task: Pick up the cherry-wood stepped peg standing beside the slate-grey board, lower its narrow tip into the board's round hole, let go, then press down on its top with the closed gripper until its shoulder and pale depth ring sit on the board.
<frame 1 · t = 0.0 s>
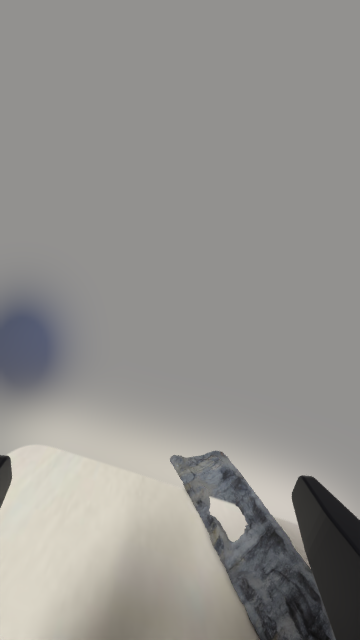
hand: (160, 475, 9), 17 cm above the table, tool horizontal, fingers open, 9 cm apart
driftwood: (258, 559, 23), on the table
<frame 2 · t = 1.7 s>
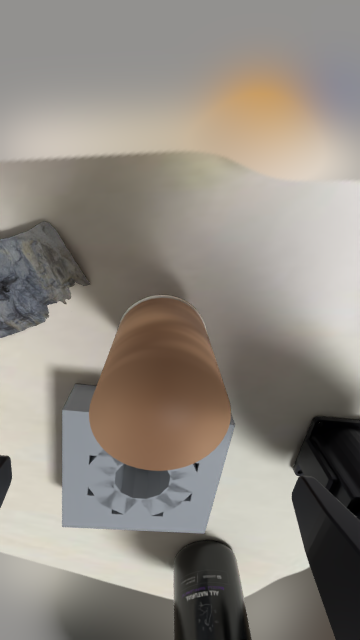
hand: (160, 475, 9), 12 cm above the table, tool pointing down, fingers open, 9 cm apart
peg: (162, 321, 20), on the table
supplement bottle: (203, 555, 31), on the table
board: (145, 448, 25), on the table
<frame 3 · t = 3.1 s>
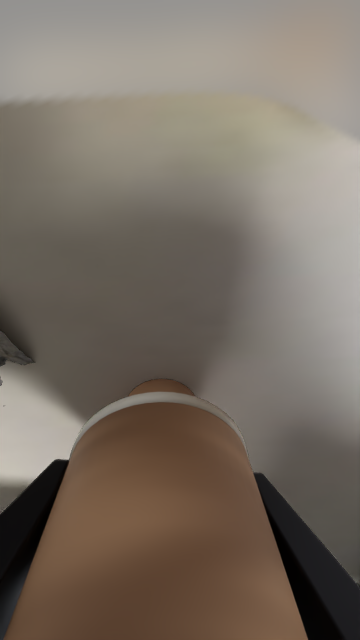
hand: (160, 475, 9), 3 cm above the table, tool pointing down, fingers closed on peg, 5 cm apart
peg: (161, 409, 12), on the table, touching gripper
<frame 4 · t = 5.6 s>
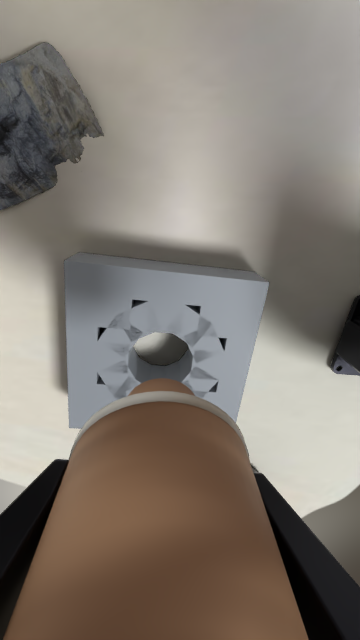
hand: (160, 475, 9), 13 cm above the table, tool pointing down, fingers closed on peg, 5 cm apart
peg: (161, 409, 12), point 10 cm above the table, touching gripper
board: (161, 341, 21), on the table
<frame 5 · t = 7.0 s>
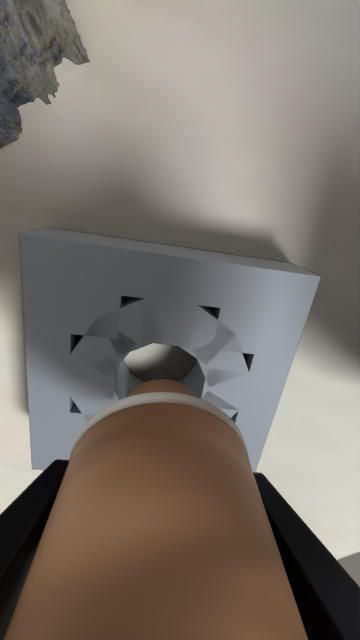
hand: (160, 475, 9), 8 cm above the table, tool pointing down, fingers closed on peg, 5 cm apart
peg: (161, 410, 12), point 5 cm above the table, touching gripper
board: (160, 353, 16), on the table
when the fingers open (4 cm above the table, at t = 8.2 s): peg drops 1 cm, resting on board.
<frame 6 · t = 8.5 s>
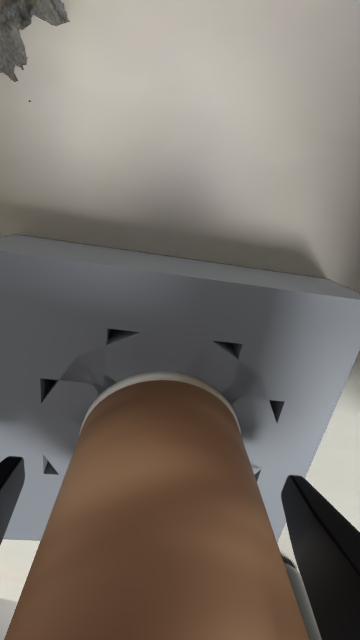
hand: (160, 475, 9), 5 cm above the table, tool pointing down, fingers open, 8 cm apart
peg: (161, 394, 13), resting on board
supplement bottle: (249, 579, 19), on the table
board: (161, 388, 13), on the table
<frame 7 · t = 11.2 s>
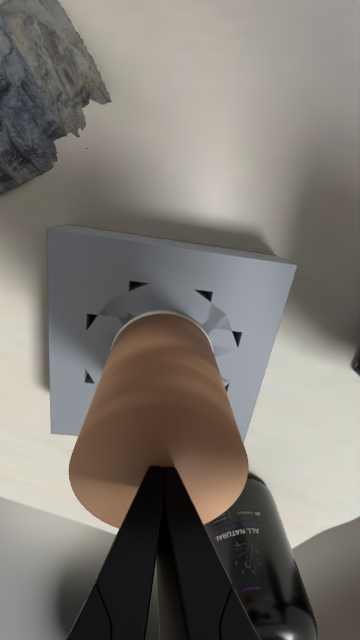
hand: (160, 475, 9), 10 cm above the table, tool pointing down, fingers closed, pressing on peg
peg: (162, 337, 18), resting on board, touching gripper
supplement bottle: (231, 498, 25), on the table
board: (162, 335, 18), on the table
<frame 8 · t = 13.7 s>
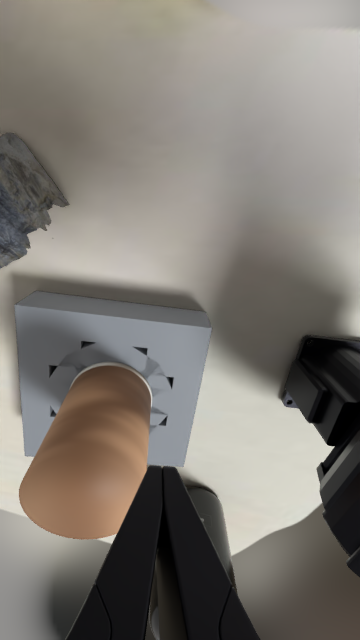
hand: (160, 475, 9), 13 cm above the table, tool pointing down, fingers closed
peg: (117, 376, 22), resting on board
supplement bottle: (187, 505, 29), on the table
board: (117, 373, 22), on the table
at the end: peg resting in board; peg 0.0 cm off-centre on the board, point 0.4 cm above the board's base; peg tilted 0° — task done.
